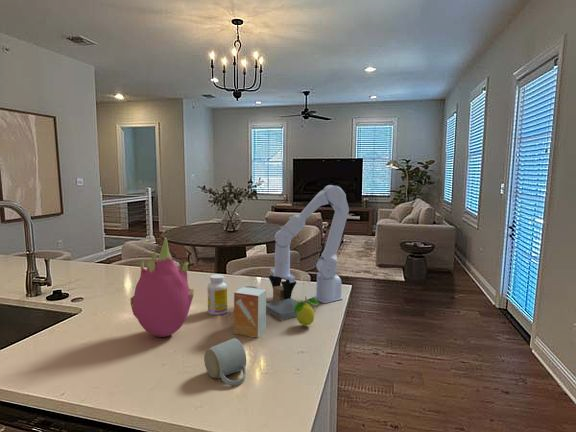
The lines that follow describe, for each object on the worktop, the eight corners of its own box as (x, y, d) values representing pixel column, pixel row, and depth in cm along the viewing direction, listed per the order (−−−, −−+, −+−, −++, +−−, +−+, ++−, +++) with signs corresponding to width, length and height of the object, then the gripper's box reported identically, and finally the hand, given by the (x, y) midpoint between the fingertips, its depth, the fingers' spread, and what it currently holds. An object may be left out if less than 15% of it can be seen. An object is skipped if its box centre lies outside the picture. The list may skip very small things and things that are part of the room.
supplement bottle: (231, 310, 133) (230, 275, 131) (220, 317, 127) (219, 280, 125) (215, 307, 136) (215, 272, 134) (203, 313, 130) (203, 277, 128)
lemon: (318, 324, 122) (318, 294, 121) (313, 331, 116) (314, 300, 115) (298, 321, 124) (299, 292, 123) (292, 328, 119) (293, 297, 117)
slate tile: (291, 303, 141) (291, 298, 141) (310, 313, 131) (310, 307, 131) (263, 309, 135) (263, 303, 134) (281, 320, 125) (281, 314, 124)
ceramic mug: (202, 372, 92) (201, 342, 91) (231, 361, 97) (231, 333, 96) (224, 392, 84) (224, 360, 83) (254, 380, 89) (255, 349, 88)
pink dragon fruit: (195, 324, 120) (194, 231, 117) (192, 343, 107) (190, 239, 104) (137, 327, 117) (134, 232, 114) (126, 347, 104) (122, 240, 101)
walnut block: (283, 297, 148) (284, 284, 148) (290, 300, 144) (291, 288, 144) (272, 299, 145) (273, 286, 145) (279, 303, 141) (280, 290, 141)
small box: (233, 334, 113) (233, 292, 112) (242, 326, 119) (242, 286, 118) (258, 338, 111) (258, 295, 109) (266, 330, 117) (266, 289, 115)
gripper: (263, 259, 147) (263, 292, 148) (283, 267, 135) (283, 303, 136) (278, 257, 151) (278, 290, 152) (300, 264, 139) (299, 300, 140)
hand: (281, 296), depth 145 cm, fingers open, 7 cm apart
